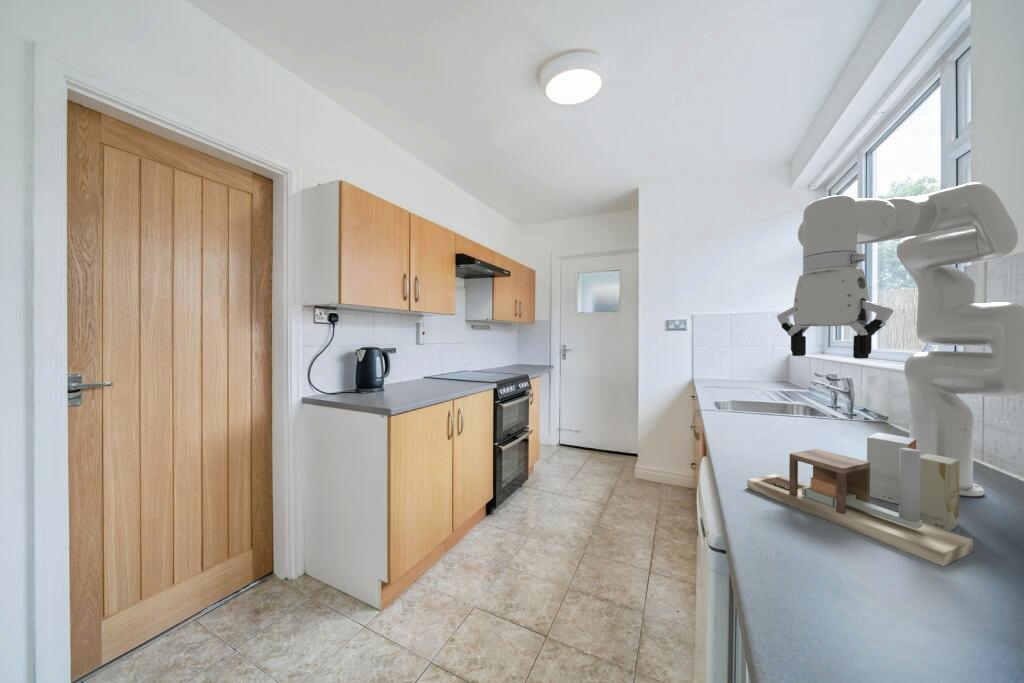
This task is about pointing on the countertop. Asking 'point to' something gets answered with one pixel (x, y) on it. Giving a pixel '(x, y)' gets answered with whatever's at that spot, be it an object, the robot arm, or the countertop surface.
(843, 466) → the tunnel
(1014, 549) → the countertop surface
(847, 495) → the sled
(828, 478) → the block
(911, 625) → the countertop surface
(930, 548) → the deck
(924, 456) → the skincare box
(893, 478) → the small box
